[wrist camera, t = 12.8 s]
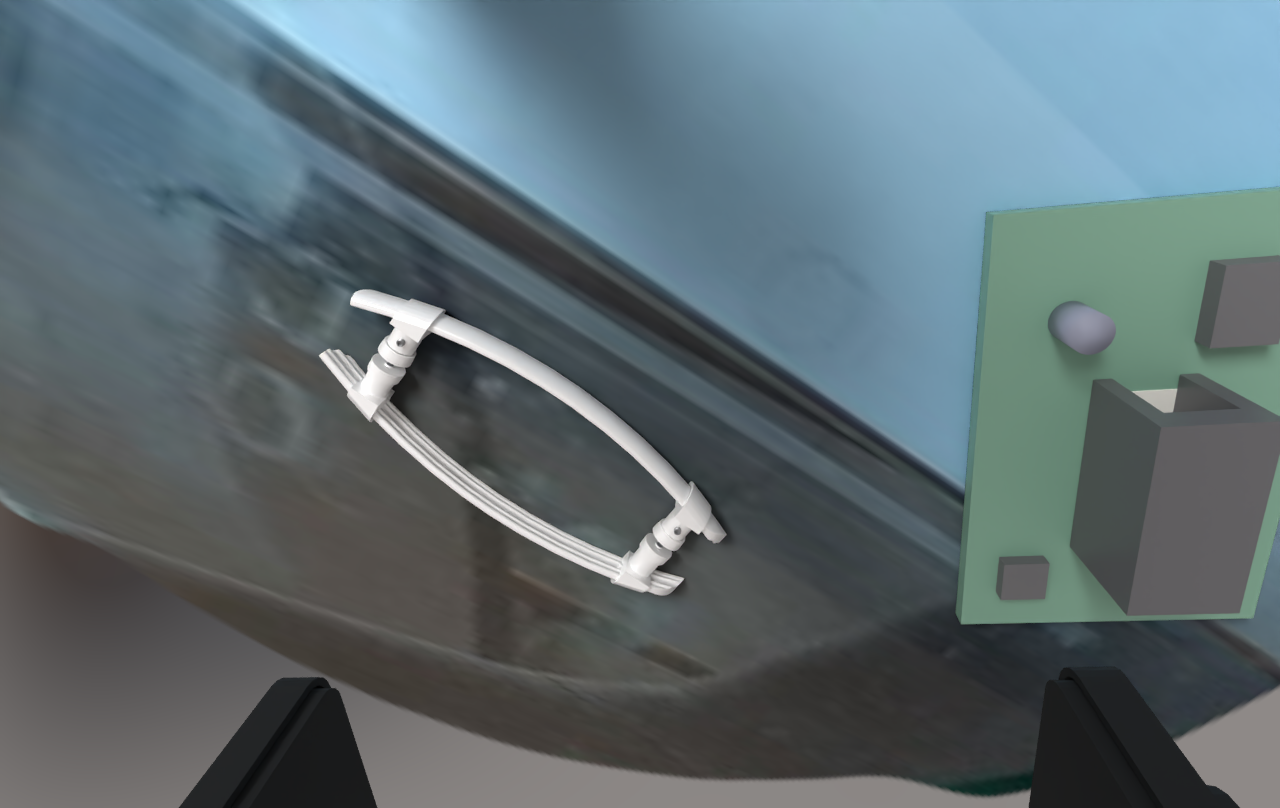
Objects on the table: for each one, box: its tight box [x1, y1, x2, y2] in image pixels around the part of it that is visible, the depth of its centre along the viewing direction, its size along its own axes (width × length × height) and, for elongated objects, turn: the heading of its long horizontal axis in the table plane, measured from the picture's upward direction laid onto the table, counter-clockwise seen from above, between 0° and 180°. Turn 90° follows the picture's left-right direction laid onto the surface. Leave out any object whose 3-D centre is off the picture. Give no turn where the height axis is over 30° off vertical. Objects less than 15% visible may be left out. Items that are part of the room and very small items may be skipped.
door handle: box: [319, 290, 727, 595], centre depth 41 cm, size 3×10×25 cm
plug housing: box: [1070, 373, 1280, 616], centre depth 35 cm, size 10×5×6 cm, turn 6°
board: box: [956, 187, 1280, 624], centre depth 37 cm, size 24×16×3 cm, turn 6°
